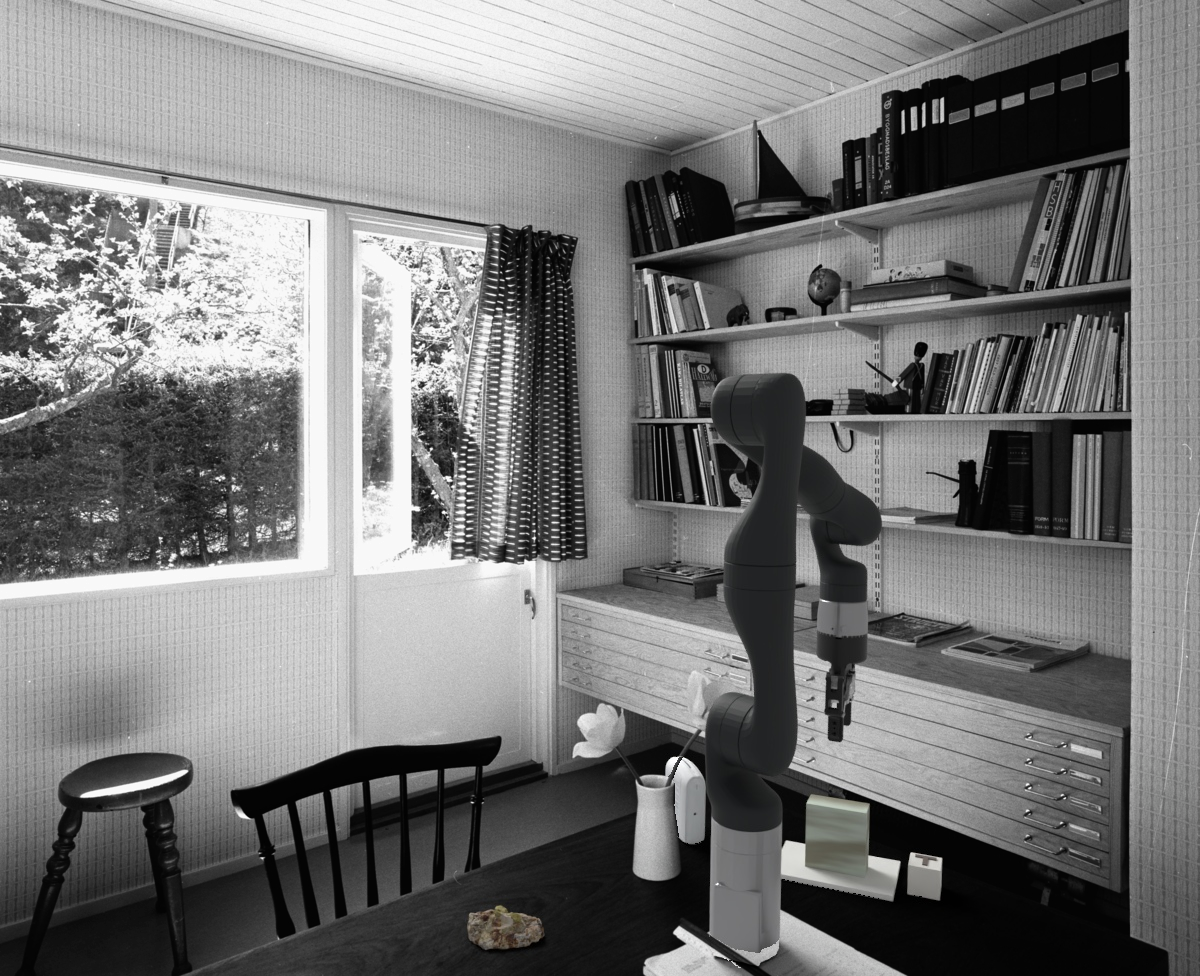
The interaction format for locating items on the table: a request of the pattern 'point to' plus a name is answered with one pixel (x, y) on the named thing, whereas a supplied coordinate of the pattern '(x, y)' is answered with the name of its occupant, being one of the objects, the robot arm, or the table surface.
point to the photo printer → (688, 800)
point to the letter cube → (924, 876)
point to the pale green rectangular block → (837, 835)
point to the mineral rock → (503, 929)
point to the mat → (874, 884)
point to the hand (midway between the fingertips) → (839, 732)
